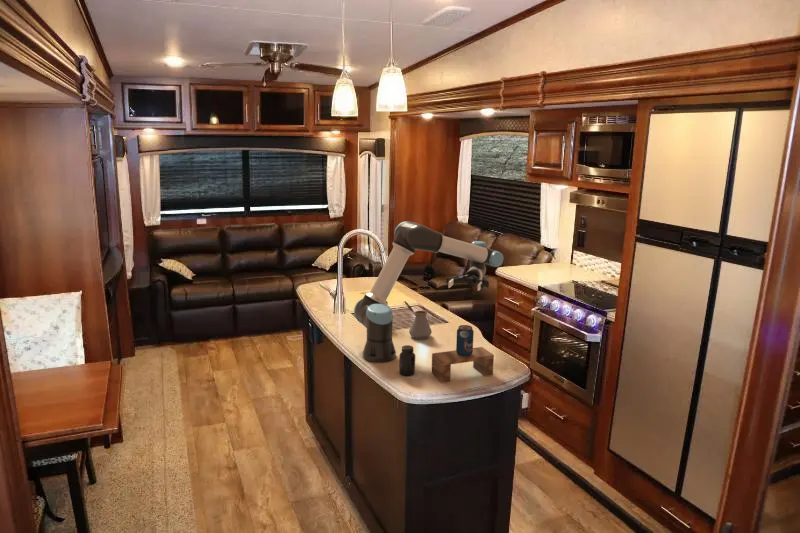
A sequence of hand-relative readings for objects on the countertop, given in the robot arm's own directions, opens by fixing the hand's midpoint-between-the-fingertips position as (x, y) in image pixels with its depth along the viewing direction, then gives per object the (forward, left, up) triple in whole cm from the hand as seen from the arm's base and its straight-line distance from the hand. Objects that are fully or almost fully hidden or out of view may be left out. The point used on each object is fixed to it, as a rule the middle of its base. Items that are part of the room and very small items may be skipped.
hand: (463, 286), depth 249 cm
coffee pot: (-11, +31, -32) cm, 46 cm away
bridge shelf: (-11, -22, -32) cm, 41 cm away
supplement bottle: (-33, -14, -32) cm, 48 cm away
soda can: (-10, -23, -23) cm, 34 cm away
